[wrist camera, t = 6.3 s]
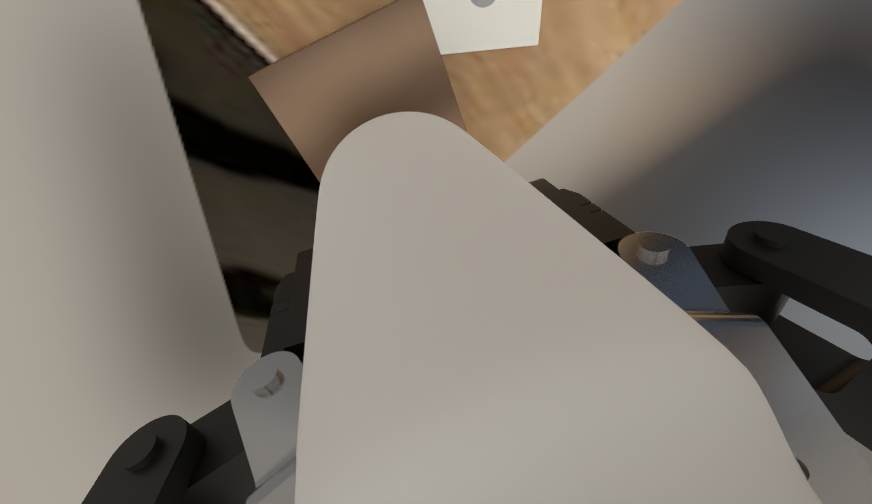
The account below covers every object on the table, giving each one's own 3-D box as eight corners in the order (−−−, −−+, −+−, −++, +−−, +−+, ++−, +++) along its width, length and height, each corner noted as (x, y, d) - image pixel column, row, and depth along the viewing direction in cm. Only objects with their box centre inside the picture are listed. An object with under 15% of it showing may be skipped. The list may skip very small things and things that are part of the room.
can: (305, 251, 13) (228, 856, 4) (340, 78, 10) (431, 847, 1) (450, 273, 16) (633, 665, 6) (512, 140, 13) (1048, 490, 3)
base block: (261, 68, 23) (248, 77, 19) (408, -6, 22) (419, -10, 19) (346, 200, 29) (347, 222, 26) (461, 145, 29) (476, 161, 26)
